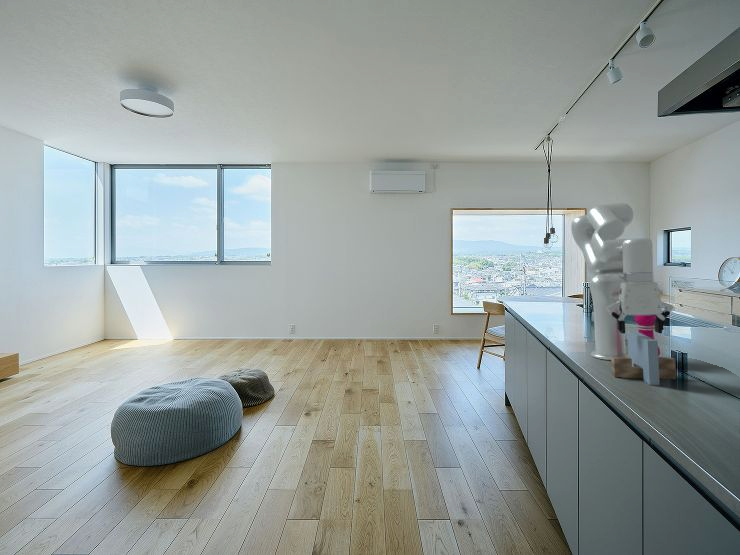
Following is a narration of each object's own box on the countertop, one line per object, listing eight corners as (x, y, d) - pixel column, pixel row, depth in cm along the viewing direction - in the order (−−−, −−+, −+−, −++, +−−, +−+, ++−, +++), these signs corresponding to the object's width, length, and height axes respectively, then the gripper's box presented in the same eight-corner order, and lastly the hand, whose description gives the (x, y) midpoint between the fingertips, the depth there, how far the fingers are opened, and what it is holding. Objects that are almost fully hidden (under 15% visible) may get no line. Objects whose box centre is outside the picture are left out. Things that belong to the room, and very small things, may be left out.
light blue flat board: (629, 369, 121) (627, 331, 120) (637, 370, 120) (635, 331, 120) (649, 385, 105) (647, 340, 105) (659, 385, 105) (657, 340, 104)
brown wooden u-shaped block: (614, 377, 114) (613, 358, 114) (612, 375, 116) (611, 356, 116) (676, 379, 109) (675, 359, 109) (672, 376, 111) (671, 357, 111)
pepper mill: (665, 366, 122) (662, 307, 122) (641, 366, 123) (638, 308, 123) (653, 360, 129) (650, 305, 129) (630, 361, 131) (627, 306, 130)
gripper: (610, 280, 111) (612, 335, 112) (678, 277, 106) (679, 335, 107) (602, 278, 118) (604, 330, 119) (665, 276, 113) (667, 330, 114)
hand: (640, 332), depth 113 cm, fingers open, 9 cm apart
